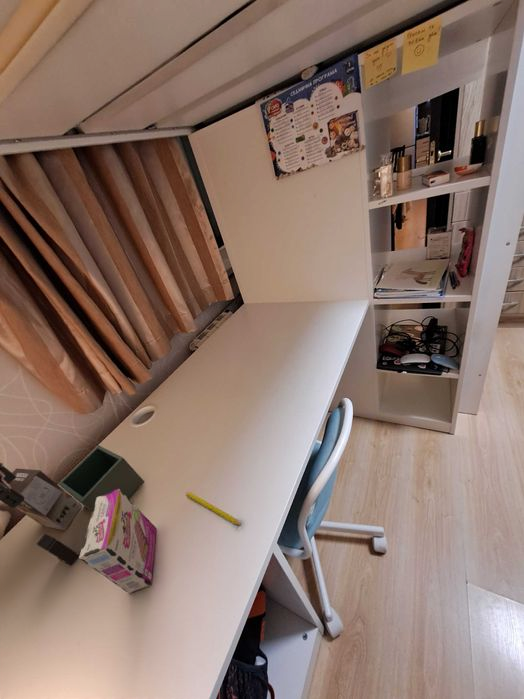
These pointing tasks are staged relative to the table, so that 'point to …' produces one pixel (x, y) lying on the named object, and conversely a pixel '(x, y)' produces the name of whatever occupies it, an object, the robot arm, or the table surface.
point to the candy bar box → (120, 542)
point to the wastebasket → (100, 477)
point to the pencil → (213, 508)
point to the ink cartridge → (57, 549)
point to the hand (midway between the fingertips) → (14, 491)
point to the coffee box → (44, 499)
